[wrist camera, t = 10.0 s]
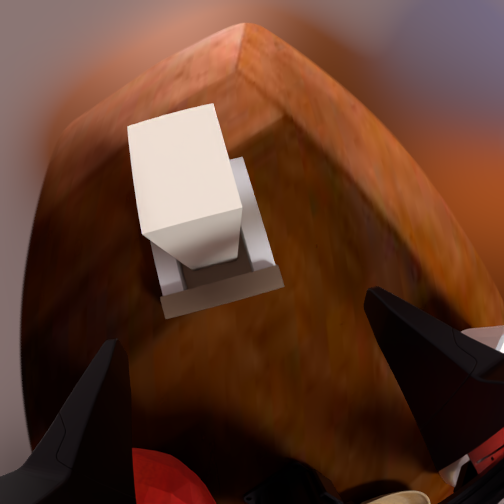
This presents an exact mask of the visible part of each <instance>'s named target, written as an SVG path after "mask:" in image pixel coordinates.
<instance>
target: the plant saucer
mask: <svg viewBox="0 0 504 504" xmlns="http://www.w3.org/2000/svg"><path fill="white" fill-rule="evenodd" d="M360 504H430V500H429V498H428V497H427V496H426V495H425V494H424V493H422V492H419V491H399V492H393V493H389V494H385V495H381V496H378V497H375V498H372V499H369V500H367V501H365V502H362V503H360Z"/></svg>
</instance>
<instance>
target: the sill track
mask: <svg viewBox="0 0 504 504" xmlns="http://www.w3.org/2000/svg"><path fill="white" fill-rule="evenodd" d="M229 161H230V165H231V168H232V172H233V176H234V179H235V183H236V186H237V190H238V193H239V197H240V201H241V204H242V216H241V226H240V235H239V245H238V255H237V260H234V261H230V262H227V263H223V264H219V265H215V266H211V267H207V268H204V269H200V270H196V271H193V270H191V269H190V268H188V267H187V266H185V265H184V264H183V263H181V262H180V261H178V260H177V259H176V258H174V257H173V256H171V255H170V254H169V253H167V252H166V251H164V250H163V249H162V248H160V247H159V246H157V245H156V244H155V243H153V242H152V241H151V240H150V242H151V247H152V252H153V256H154V261H155V265H156V269H157V274H158V278H159V282H160V286H161V290H162V294H163V296H161V297H160V299H161V303H162V307H163V311H164V314H165V318H166V319H168V318H172V317H176V316H180V315H184V314H188V313H192V312H196V311H200V310H203V309H207V308H211V307H215V306H218V305H222V304H226V303H229V302H233V301H236V300H240V299H244V298H247V297H251V296H254V295H258V294H261V293H265V292H268V291H271V290H275V289H278V288H282V287H284V284H283V280H282V277H281V273H280V270H279V267H278V265H275V262H274V259H273V255H272V252H271V249H270V245H269V242H268V239H267V235H266V232H265V229H264V225H263V222H262V219H261V215H260V212H259V209H258V206H257V202H256V199H255V196H254V193H253V189H252V186H251V183H250V180H249V176H248V173H247V170H246V167H245V164H244V160H243V157H240V158H236V159H232V160H229Z"/></svg>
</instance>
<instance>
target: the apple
mask: <svg viewBox="0 0 504 504" xmlns="http://www.w3.org/2000/svg"><path fill="white" fill-rule="evenodd" d="M132 457H133V472H134V484H135V495H136V502H137V504H216V502H215V500H214V499H213V497H212V495H211V494H210V492H209V490H208V489H207V487H206V485H205V484H204V483H203V482H202V480H201V479H200V478H199V477H198V476H197V475H196V474H195V473H194V472H193V471H192V470H190V469H189V468H188V467H187V466H186V465H185V464H183V463H182V462H181V461H180V460H178V459H177V458H175V457H173V456H172V455H170V454H166V453H163V452H159V451H155V450H147V449H141V448H132Z"/></svg>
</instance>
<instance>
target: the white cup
mask: <svg viewBox="0 0 504 504" xmlns="http://www.w3.org/2000/svg"><path fill="white" fill-rule="evenodd" d="M461 333H463V334H465V335H467V336H469V337H470V338H473V339H475V340H477V341H479V342H481V343H483V344H485V345H487V346H489V347H491V348H493V349H496V350H498V351H500V352H502V353H504V326H495V327H484V328H471V329H466V330H463V331H461Z"/></svg>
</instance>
